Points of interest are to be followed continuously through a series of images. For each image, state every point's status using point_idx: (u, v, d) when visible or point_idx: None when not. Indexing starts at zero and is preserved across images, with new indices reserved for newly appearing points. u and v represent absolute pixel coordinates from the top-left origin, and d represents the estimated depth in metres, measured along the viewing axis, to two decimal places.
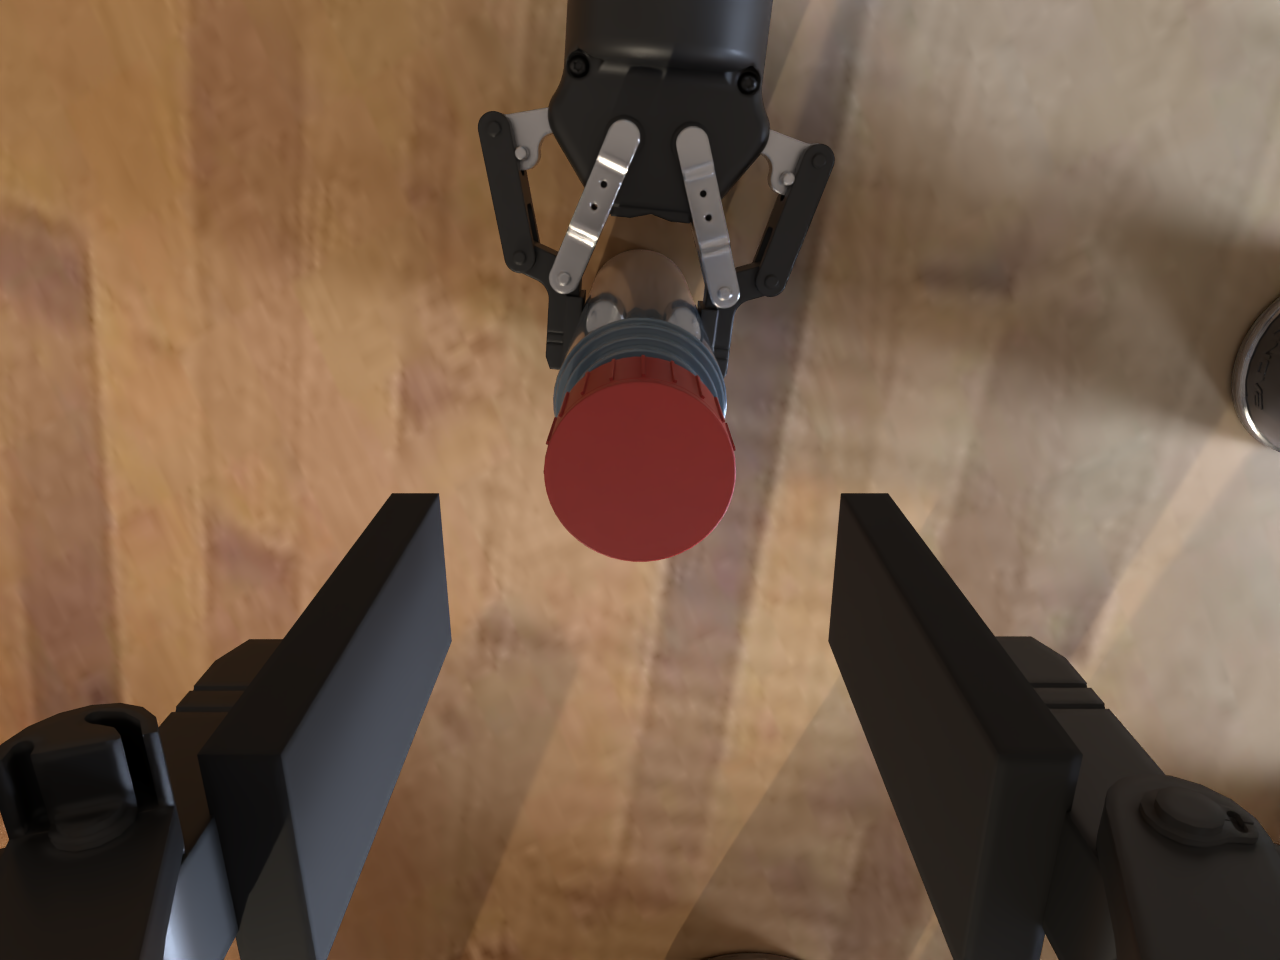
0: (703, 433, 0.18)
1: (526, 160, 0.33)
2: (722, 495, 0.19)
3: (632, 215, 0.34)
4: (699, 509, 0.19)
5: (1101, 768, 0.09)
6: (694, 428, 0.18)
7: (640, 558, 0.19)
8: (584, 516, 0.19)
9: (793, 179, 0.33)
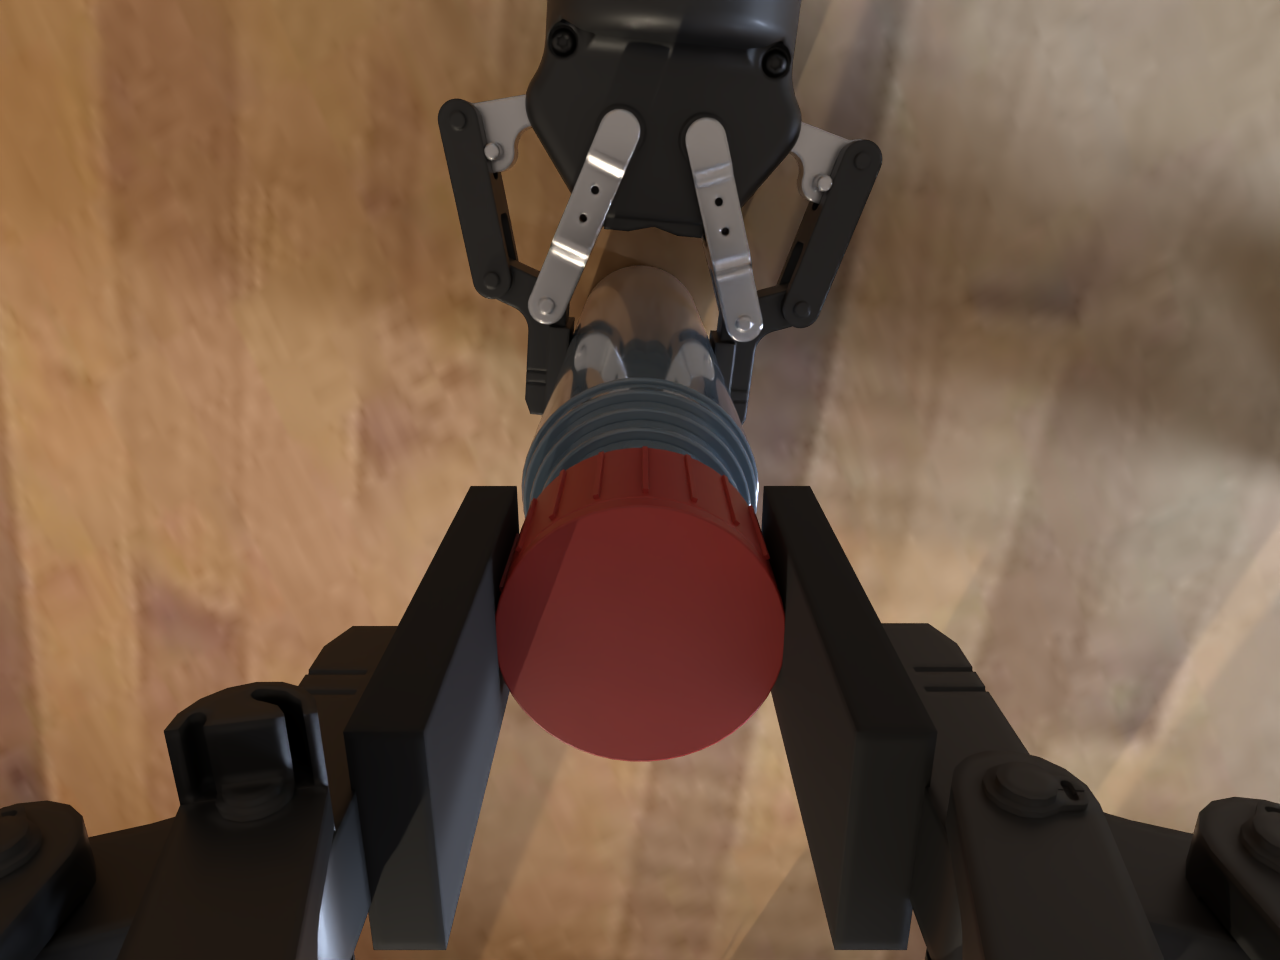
0: (738, 581, 0.12)
1: (499, 160, 0.27)
2: (765, 669, 0.12)
3: (630, 228, 0.27)
4: (730, 689, 0.12)
5: (968, 746, 0.09)
6: (724, 574, 0.12)
7: (640, 757, 0.13)
8: (556, 698, 0.13)
9: (830, 184, 0.27)
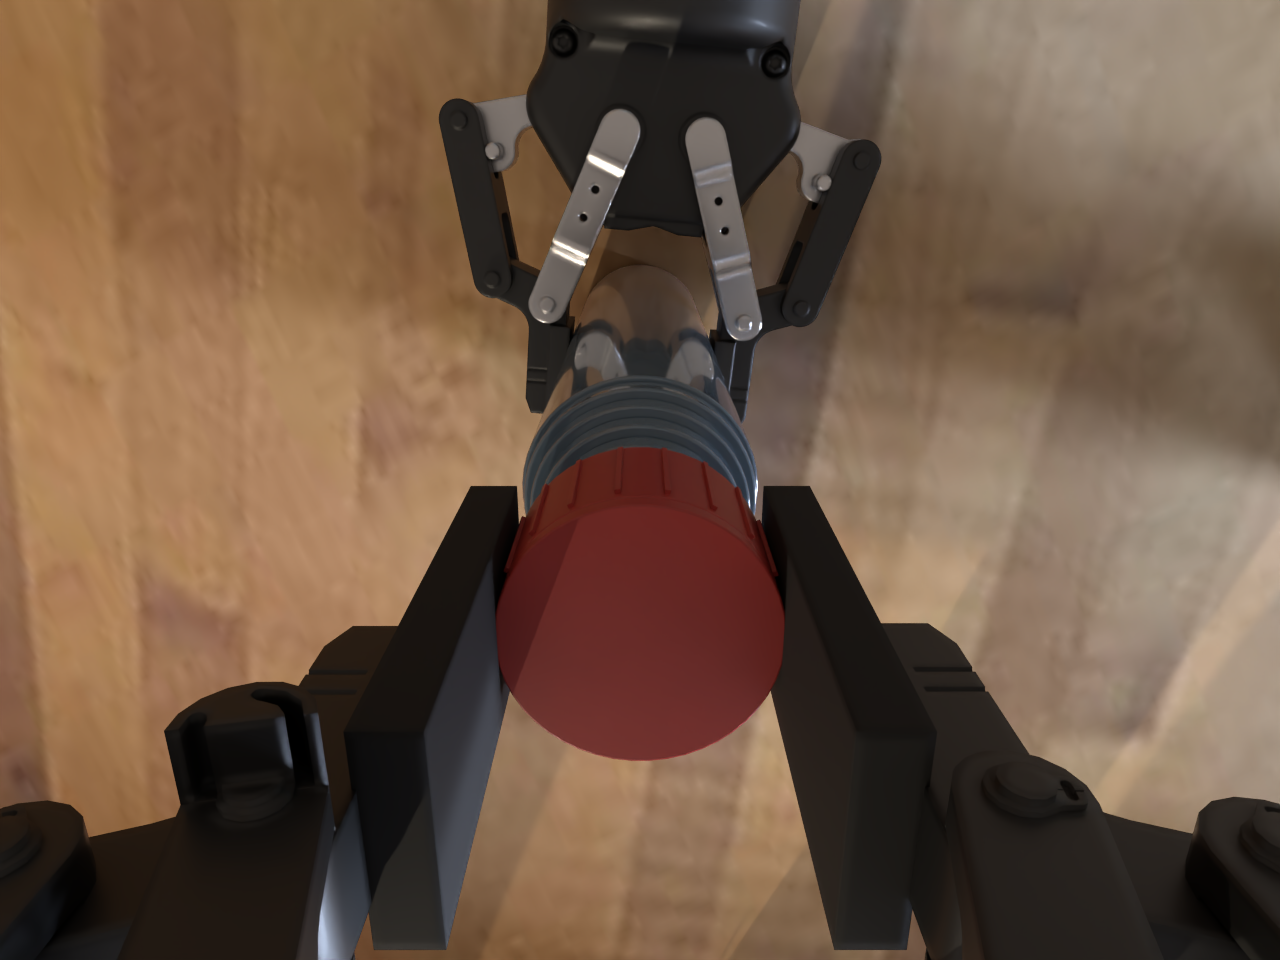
0: (547, 573, 0.12)
1: (500, 159, 0.27)
2: (638, 519, 0.12)
3: (630, 227, 0.27)
4: (671, 545, 0.12)
5: (967, 746, 0.09)
6: (544, 587, 0.12)
7: (776, 607, 0.12)
8: (726, 695, 0.13)
9: (829, 183, 0.27)
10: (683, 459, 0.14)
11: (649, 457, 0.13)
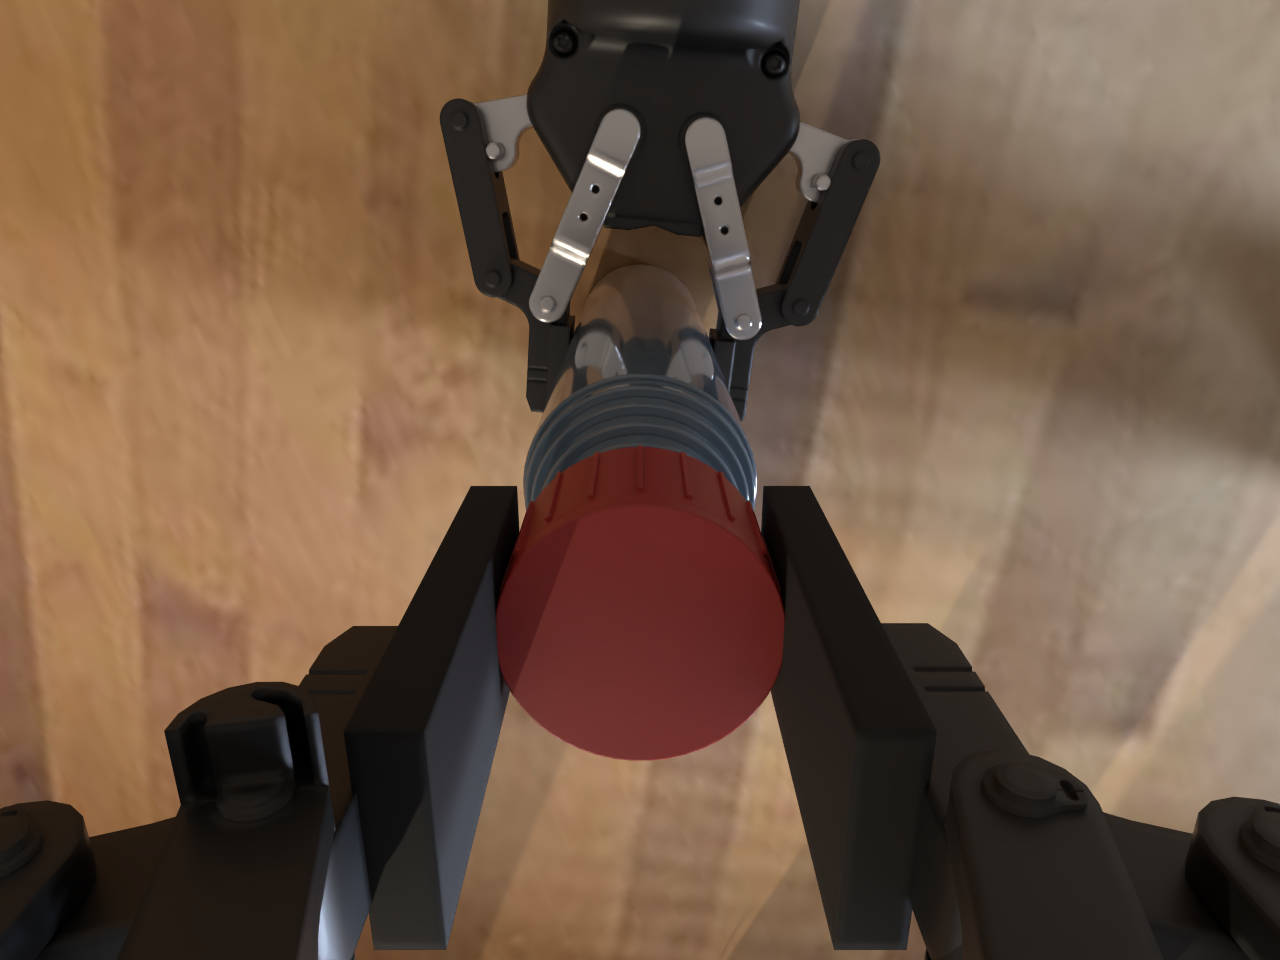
0: (594, 729, 0.13)
1: (500, 159, 0.27)
2: (515, 671, 0.12)
3: (631, 227, 0.28)
4: (531, 638, 0.12)
5: (967, 746, 0.09)
6: (609, 729, 0.13)
7: (564, 530, 0.12)
8: (681, 546, 0.12)
9: (829, 183, 0.27)
10: None
11: None
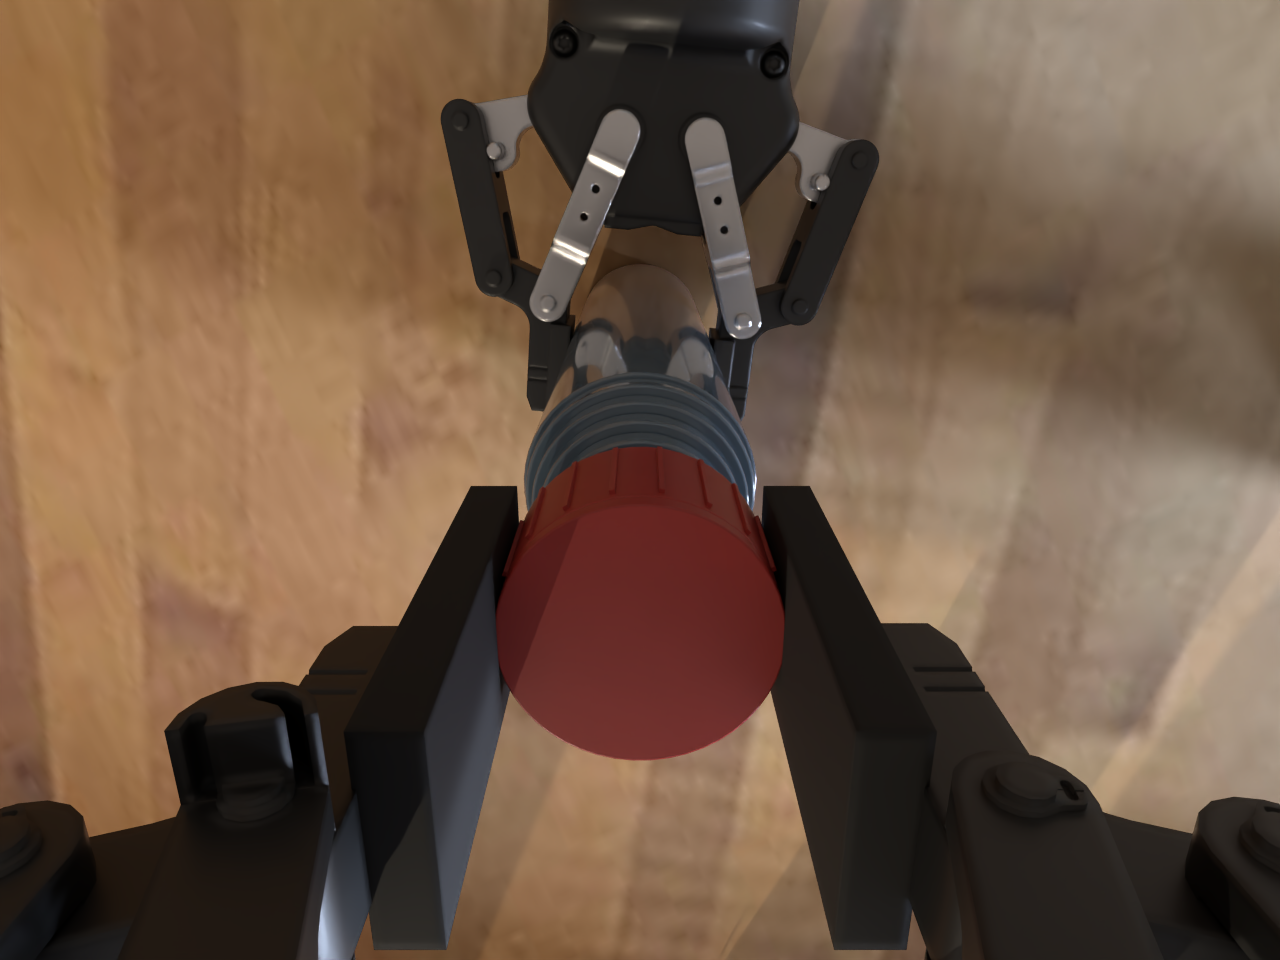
0: (754, 656, 0.12)
1: (501, 159, 0.27)
2: (705, 733, 0.13)
3: (631, 227, 0.28)
4: (666, 727, 0.13)
5: (967, 746, 0.09)
6: (750, 643, 0.12)
7: (547, 725, 0.13)
8: (530, 629, 0.12)
9: (828, 183, 0.27)
10: None
11: None
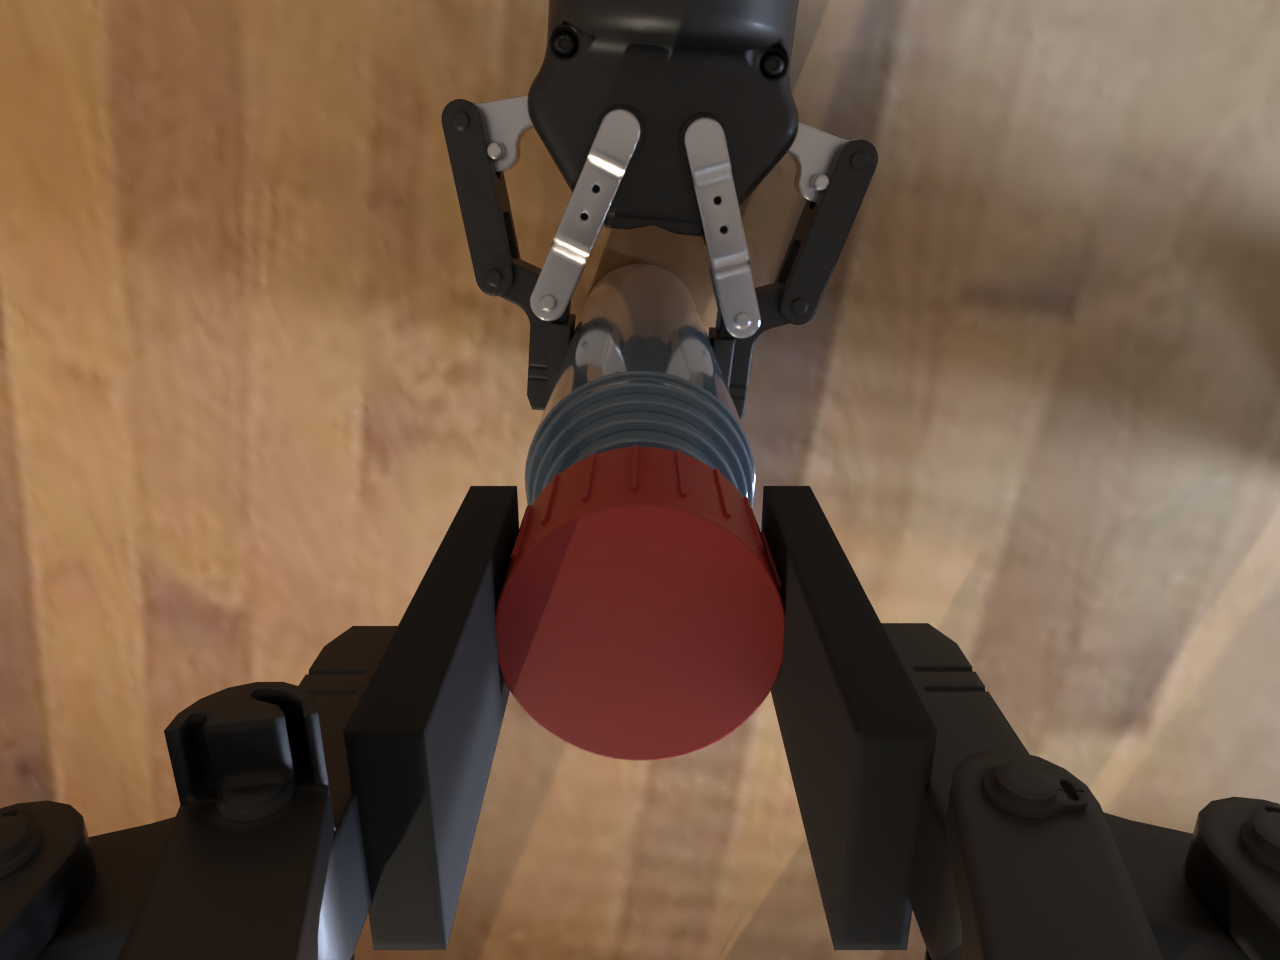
0: (627, 534, 0.12)
1: (502, 159, 0.28)
2: (734, 553, 0.12)
3: (631, 226, 0.28)
4: (736, 592, 0.12)
5: (968, 746, 0.09)
6: (612, 542, 0.12)
7: (759, 697, 0.13)
8: (657, 730, 0.13)
9: (827, 183, 0.27)
10: (755, 519, 0.14)
11: (737, 498, 0.14)
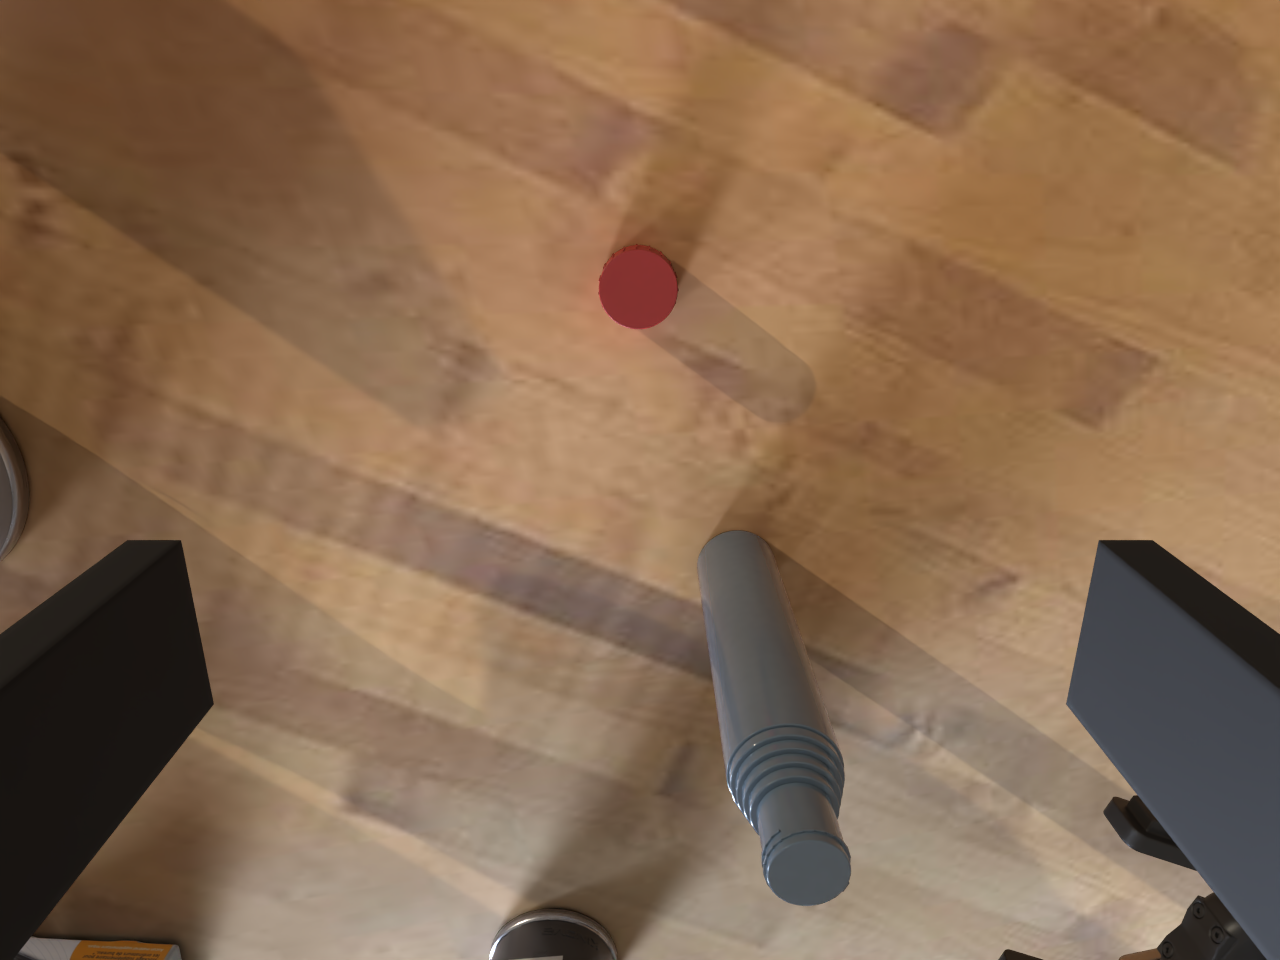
0: (634, 258, 0.45)
1: None
2: (662, 263, 0.45)
3: (1218, 951, 0.34)
4: (663, 275, 0.45)
5: None
6: (631, 260, 0.45)
7: (671, 308, 0.46)
8: (643, 319, 0.46)
9: None
10: (672, 267, 0.47)
11: (666, 259, 0.47)
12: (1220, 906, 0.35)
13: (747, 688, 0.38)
